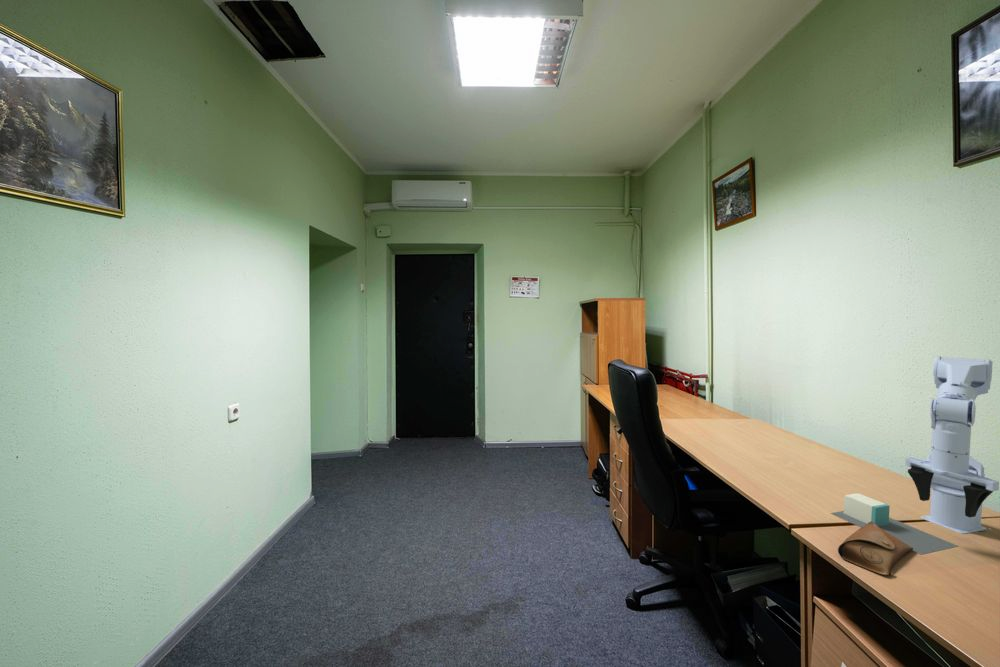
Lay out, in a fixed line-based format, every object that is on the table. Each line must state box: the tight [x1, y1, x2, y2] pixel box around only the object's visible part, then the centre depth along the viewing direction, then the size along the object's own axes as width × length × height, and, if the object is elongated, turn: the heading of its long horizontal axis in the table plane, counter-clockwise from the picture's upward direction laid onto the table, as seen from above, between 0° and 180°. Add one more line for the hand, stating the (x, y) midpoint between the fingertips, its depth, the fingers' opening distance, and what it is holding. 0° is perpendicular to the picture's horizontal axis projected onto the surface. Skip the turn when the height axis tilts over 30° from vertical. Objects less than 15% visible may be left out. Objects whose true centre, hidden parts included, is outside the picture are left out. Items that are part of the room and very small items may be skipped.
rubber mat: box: [830, 510, 959, 556], centre depth 96 cm, size 13×18×1 cm
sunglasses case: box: [837, 521, 914, 576], centre depth 86 cm, size 18×7×7 cm, turn 121°
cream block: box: [843, 492, 890, 526], centre depth 100 cm, size 5×5×7 cm
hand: (946, 507), depth 88 cm, fingers open, 7 cm apart
